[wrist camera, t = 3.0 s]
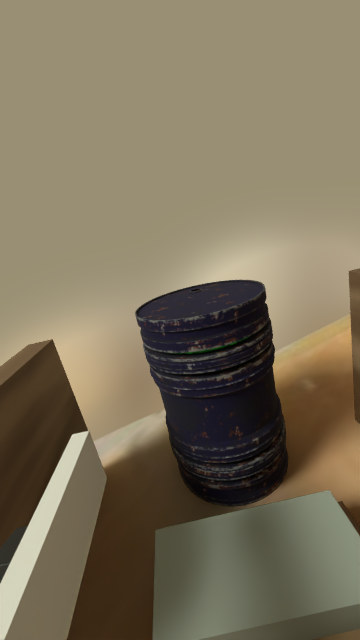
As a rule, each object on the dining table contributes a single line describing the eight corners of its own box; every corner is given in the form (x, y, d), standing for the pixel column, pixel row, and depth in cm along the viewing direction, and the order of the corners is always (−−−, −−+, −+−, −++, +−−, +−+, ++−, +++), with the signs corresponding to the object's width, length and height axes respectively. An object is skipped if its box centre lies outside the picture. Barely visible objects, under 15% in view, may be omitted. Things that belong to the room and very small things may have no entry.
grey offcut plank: (331, 511, 17) (329, 489, 17) (398, 620, 12) (398, 594, 12) (162, 549, 18) (155, 529, 17) (162, 673, 13) (152, 649, 12)
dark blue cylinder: (312, 494, 20) (290, 296, 15) (179, 519, 20) (122, 334, 16) (267, 410, 29) (246, 273, 25) (177, 429, 30) (141, 297, 25)
